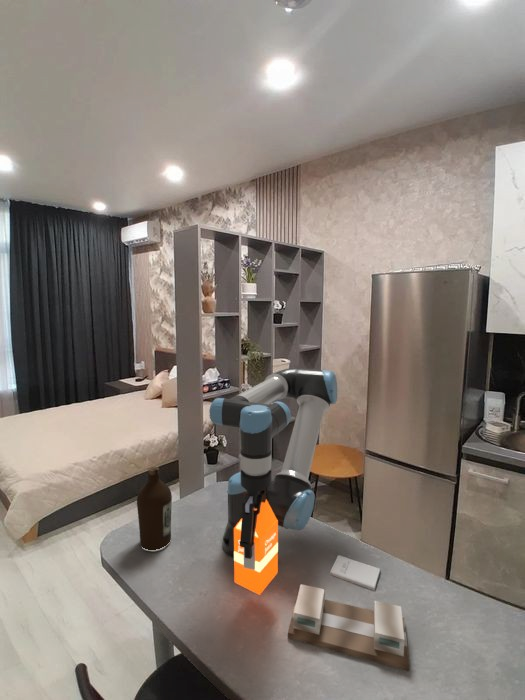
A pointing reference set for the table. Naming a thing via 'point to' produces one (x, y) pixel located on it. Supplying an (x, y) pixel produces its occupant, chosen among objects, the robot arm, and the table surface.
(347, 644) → the rail board
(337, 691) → the table surface
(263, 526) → the orange juice
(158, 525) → the olive oil
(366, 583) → the external hard drive
